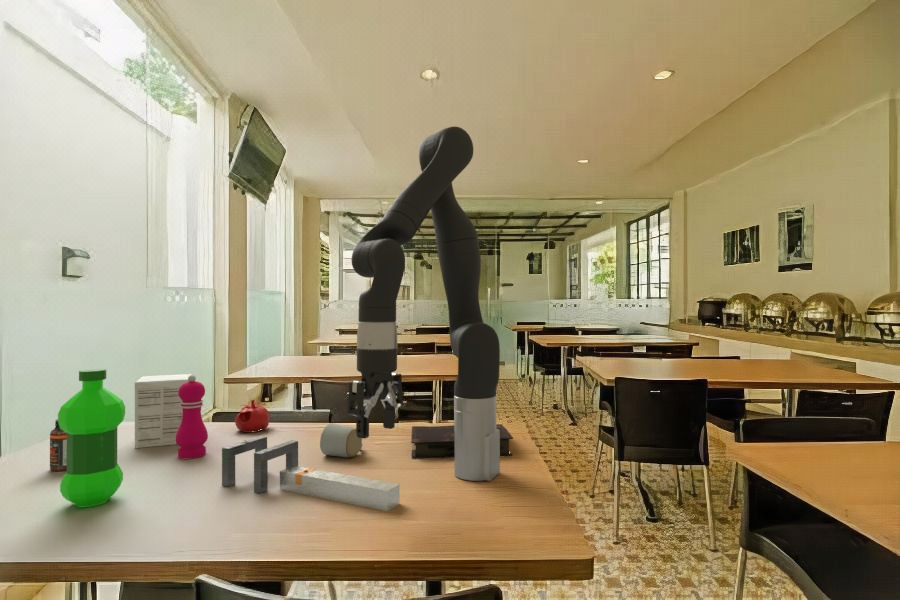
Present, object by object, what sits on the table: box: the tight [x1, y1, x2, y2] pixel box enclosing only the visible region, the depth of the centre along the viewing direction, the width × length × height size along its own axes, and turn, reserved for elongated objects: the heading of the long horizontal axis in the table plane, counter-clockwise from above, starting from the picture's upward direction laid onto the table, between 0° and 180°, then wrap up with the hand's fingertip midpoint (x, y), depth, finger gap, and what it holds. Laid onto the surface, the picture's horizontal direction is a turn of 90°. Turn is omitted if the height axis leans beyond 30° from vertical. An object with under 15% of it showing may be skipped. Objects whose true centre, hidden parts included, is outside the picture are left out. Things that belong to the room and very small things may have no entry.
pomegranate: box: [234, 398, 270, 433], centre depth 155 cm, size 10×10×9 cm
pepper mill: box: [175, 374, 209, 460], centre depth 128 cm, size 7×7×20 cm
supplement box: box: [134, 373, 194, 449], centre depth 143 cm, size 13×13×18 cm
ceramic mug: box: [319, 423, 363, 459], centre depth 128 cm, size 11×8×8 cm
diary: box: [410, 423, 514, 460], centre depth 133 cm, size 19×25×5 cm
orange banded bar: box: [279, 465, 401, 512], centre depth 100 cm, size 26×4×4 cm, turn 63°
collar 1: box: [221, 435, 268, 488], centre depth 110 cm, size 2×11×8 cm, turn 154°
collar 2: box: [253, 439, 299, 494], centre depth 107 cm, size 2×11×8 cm, turn 154°
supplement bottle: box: [49, 418, 67, 472], centre depth 119 cm, size 6×6×11 cm
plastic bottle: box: [57, 368, 126, 508], centre depth 98 cm, size 10×10×25 cm
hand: (376, 432), depth 96 cm, fingers open, 8 cm apart
